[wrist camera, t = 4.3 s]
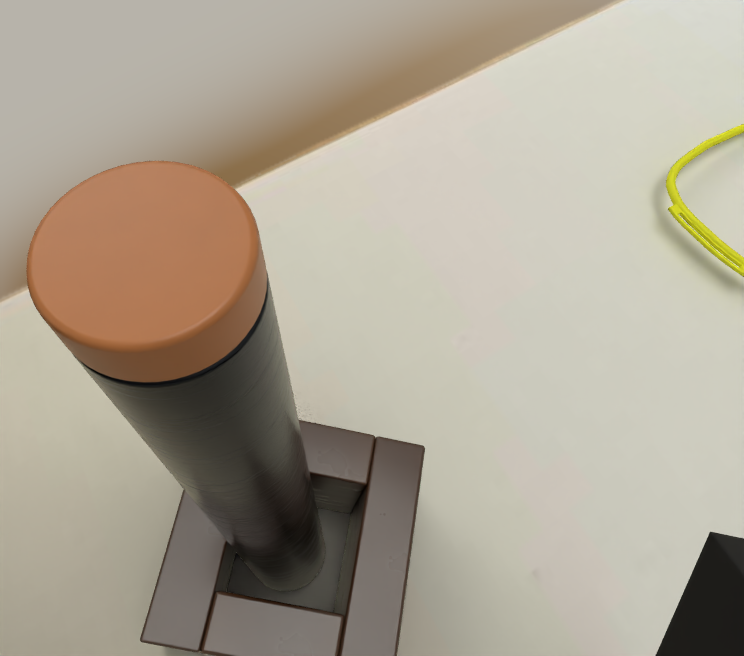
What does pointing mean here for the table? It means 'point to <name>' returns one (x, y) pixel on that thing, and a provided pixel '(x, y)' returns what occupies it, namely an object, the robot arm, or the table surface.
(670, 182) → the glasses
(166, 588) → the pen holder
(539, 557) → the table surface
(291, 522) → the black orange-capped rod
